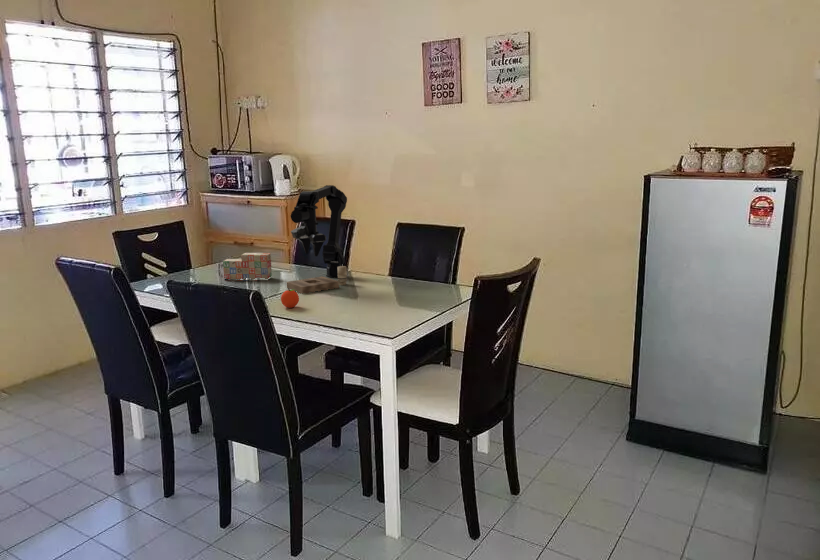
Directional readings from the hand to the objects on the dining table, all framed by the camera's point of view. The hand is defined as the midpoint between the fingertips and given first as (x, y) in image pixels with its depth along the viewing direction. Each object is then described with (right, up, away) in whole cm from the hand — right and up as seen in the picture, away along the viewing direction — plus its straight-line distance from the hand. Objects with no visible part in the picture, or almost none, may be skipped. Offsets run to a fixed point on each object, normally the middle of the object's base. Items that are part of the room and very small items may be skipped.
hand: (311, 255), depth 290 cm
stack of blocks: (-32, -11, +17) cm, 38 cm away
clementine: (-2, -22, -37) cm, 43 cm away
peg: (+14, -13, +2) cm, 19 cm away
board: (+1, -15, -5) cm, 16 cm away
